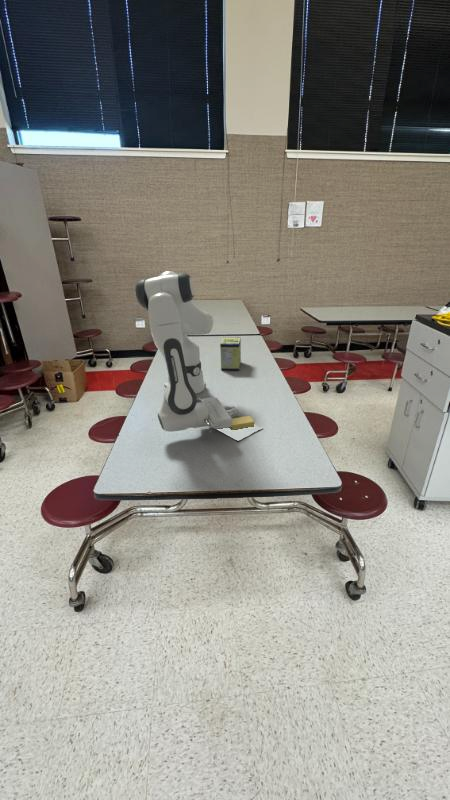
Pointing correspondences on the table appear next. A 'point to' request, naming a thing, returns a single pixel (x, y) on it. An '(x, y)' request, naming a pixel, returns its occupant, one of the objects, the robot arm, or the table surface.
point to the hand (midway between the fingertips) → (235, 409)
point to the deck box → (242, 423)
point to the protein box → (230, 353)
